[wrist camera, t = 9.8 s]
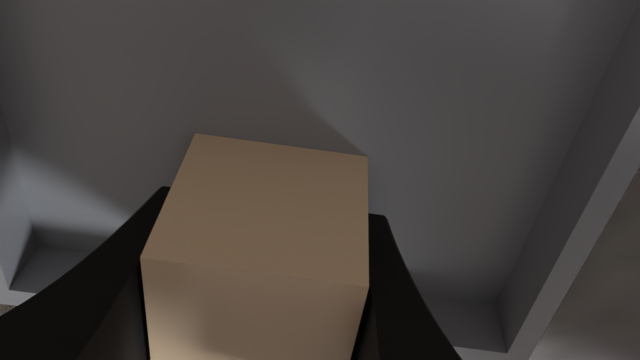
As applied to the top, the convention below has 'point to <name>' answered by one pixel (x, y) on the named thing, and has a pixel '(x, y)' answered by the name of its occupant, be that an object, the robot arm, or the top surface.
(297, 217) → the beige cardboard cube
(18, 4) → the parts tray
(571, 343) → the top surface
